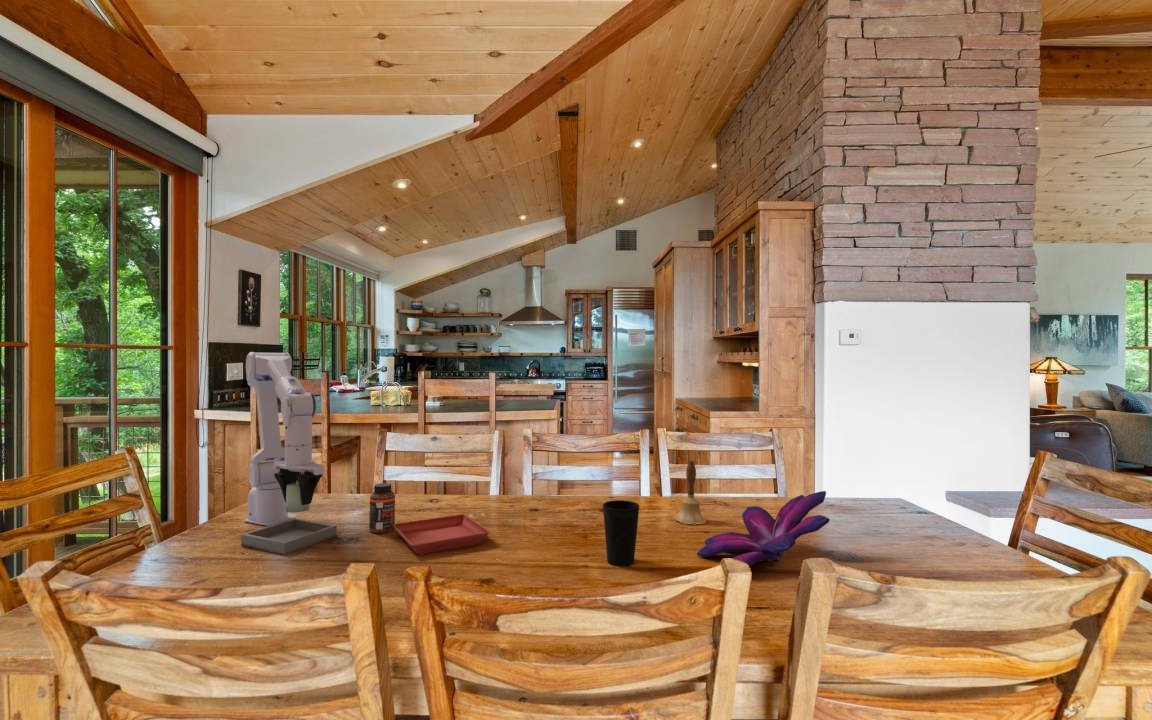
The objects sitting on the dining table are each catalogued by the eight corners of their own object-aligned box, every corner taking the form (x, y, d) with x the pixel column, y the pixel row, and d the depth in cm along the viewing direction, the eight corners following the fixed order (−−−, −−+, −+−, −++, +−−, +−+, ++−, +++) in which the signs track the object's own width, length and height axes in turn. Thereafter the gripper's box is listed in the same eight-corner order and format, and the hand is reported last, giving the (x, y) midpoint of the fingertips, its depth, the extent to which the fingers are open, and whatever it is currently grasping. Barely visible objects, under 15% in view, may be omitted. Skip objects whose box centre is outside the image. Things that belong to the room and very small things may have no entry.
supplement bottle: (384, 535, 131) (384, 488, 131) (363, 532, 133) (364, 486, 133) (399, 528, 137) (400, 482, 137) (380, 525, 139) (380, 481, 139)
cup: (600, 555, 119) (600, 500, 119) (635, 554, 119) (635, 499, 119) (605, 569, 111) (605, 510, 111) (642, 568, 112) (642, 509, 112)
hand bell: (713, 522, 144) (713, 461, 144) (690, 527, 140) (691, 464, 140) (689, 514, 151) (690, 457, 151) (667, 519, 146) (668, 459, 146)
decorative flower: (731, 620, 101) (707, 569, 102) (701, 569, 131) (683, 530, 132) (883, 550, 101) (858, 500, 101) (817, 516, 131) (798, 478, 132)
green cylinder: (281, 511, 127) (281, 485, 127) (299, 505, 132) (299, 481, 132) (296, 513, 125) (296, 487, 125) (314, 508, 130) (314, 483, 130)
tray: (241, 545, 123) (241, 534, 123) (295, 528, 136) (295, 518, 136) (284, 554, 118) (284, 543, 118) (336, 536, 131) (336, 525, 131)
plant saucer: (392, 536, 132) (392, 523, 132) (464, 525, 141) (464, 512, 141) (411, 560, 116) (411, 544, 116) (490, 546, 125) (491, 531, 125)
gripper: (335, 444, 129) (334, 502, 129) (291, 440, 135) (291, 495, 135) (309, 448, 123) (309, 509, 123) (265, 444, 129) (264, 502, 129)
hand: (298, 502), depth 129 cm, fingers closed on green cylinder, 5 cm apart
